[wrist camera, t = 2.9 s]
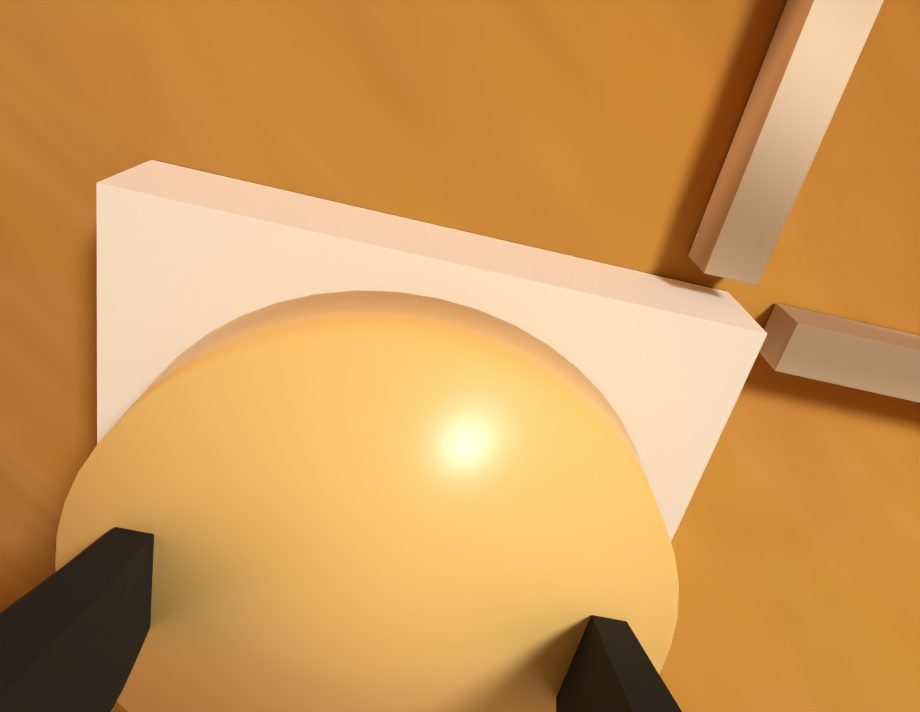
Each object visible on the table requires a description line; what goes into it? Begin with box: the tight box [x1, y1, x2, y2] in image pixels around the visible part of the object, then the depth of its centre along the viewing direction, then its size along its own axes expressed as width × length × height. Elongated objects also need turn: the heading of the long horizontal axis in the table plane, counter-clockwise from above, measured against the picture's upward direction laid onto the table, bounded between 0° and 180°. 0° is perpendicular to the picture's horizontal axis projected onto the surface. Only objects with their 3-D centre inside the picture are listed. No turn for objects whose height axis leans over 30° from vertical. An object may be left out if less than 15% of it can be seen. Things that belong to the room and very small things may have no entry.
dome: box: [55, 290, 679, 712], centre depth 13 cm, size 10×10×4 cm
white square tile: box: [97, 160, 767, 542], centre depth 14 cm, size 11×11×2 cm
